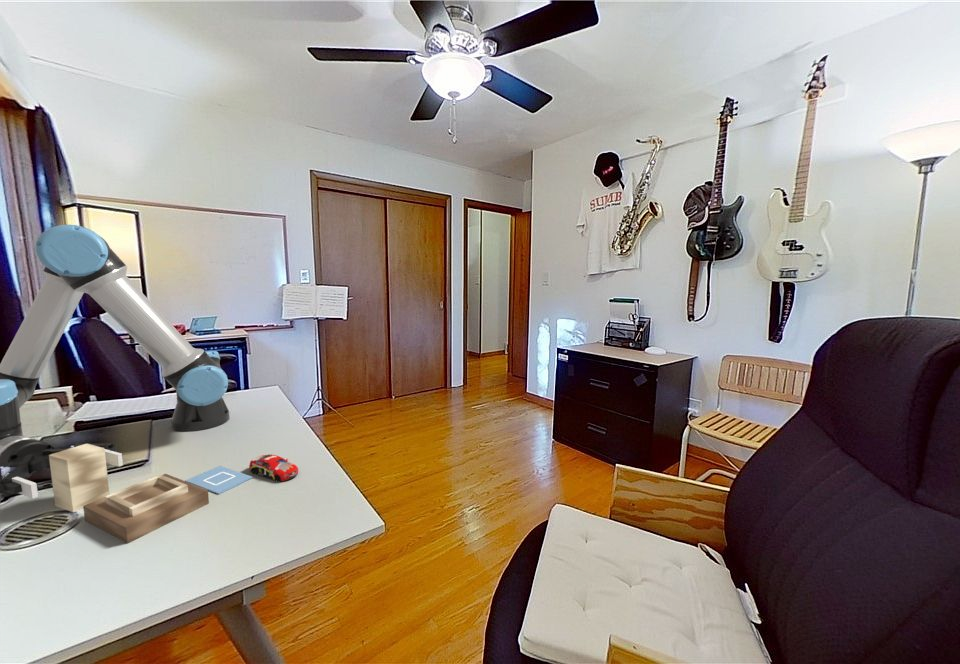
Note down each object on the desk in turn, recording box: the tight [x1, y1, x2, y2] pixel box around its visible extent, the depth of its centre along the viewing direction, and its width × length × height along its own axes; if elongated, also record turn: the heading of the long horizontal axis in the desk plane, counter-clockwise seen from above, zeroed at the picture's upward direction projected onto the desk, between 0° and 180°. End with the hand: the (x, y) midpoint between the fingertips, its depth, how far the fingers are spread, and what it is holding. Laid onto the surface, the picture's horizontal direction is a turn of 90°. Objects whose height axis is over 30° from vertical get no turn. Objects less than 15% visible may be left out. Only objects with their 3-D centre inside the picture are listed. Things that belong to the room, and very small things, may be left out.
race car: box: [249, 453, 299, 482], centre depth 96 cm, size 13×5×4 cm, turn 65°
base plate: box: [83, 473, 210, 544], centre depth 79 cm, size 14×15×4 cm
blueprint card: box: [184, 465, 254, 495], centre depth 92 cm, size 8×12×1 cm, turn 66°
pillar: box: [49, 443, 110, 513], centre depth 81 cm, size 6×6×11 cm
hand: (81, 474), depth 80 cm, fingers open, 13 cm apart
